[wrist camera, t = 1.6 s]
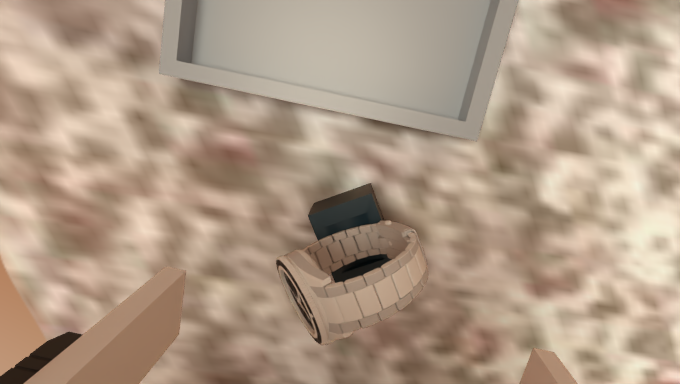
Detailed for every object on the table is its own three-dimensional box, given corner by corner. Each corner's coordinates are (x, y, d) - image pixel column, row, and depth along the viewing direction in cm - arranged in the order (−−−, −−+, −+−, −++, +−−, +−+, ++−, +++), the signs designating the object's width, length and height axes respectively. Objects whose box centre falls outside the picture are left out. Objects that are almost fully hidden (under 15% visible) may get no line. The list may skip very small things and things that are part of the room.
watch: (289, 212, 27) (241, 281, 16) (394, 174, 26) (415, 222, 15) (317, 278, 28) (289, 385, 17) (419, 245, 27) (456, 337, 16)
